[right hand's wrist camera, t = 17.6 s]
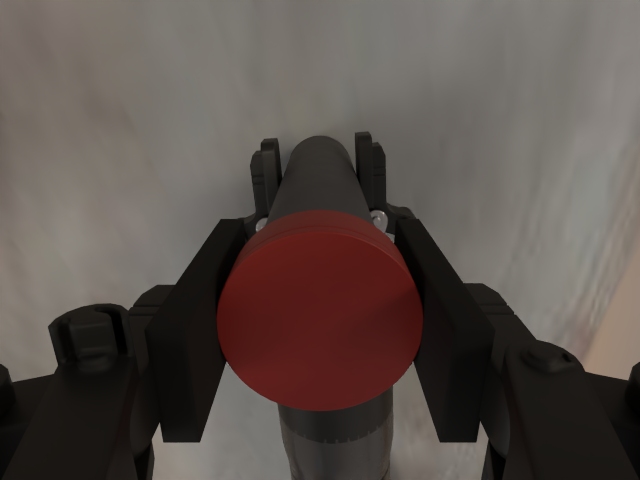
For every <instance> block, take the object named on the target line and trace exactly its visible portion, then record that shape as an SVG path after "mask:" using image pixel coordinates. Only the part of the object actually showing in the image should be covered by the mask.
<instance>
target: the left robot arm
mask: <svg viewBox="0 0 640 480" xmlns="http://www.w3.org/2000/svg"><path fill="white" fill-rule="evenodd" d="M355 152H356V176H357V179H358V181H359V184H360V187H361V190H362V192H363V195H364V198H365V200H366V203H367V206H368V208H369V211H370V214H371V217H372V219H373V222H374V225H375V227H377V228H378V229H380V230H381V231H382V232H383V233H384V234H385V232H386V233H390V234H394V235H395V224H396V219H416V217H415V216H414V214H413V213H412V212H411V210H410V209H409V208H407V207H396V206H392V205H390V204H388V203H387V202H386V159H385V154H384V151H383V149H382V147H381V145H380V144H379V143H378V142H374V143H372V137H371V134H370V133H369V132H356V133H355ZM250 169H251V176H252V183H253V191H254V199H255V206H256V213H254V214H253V215H251V216H248V217H246V218H238V219H244V228H245V243H247V242H248V241H249V240H250V239H251V238H252V236H253V235H255V234H256V233H257V232H258V231H259V230H261V229H262V228H263V227H265V225H266V222H267V219H268V216H269V214H270V211H271V208H272V206H273V203H274V200H275V197H276V195H277V192H278V189H279V187H280V184H281V181H282V171H281V162H280V153H279V144H278V139H277V138H271V139H264V140H263V141H262V142H261V151H256V152H255V153H254V154H253V156H252V160H251V164H250ZM278 411H279V418H280V425H281V432H282V438H283V443H284V447H285V450H286V454H287V456H288V459H289V464H290V471H291V479H292V480H390V451H391V446H392V439H393V385H392V386H391V387H390V388H389V389H387V390H386V391H384V392H383V393H381V394H380V395H378V396H376V397H374V398H372V399H370V400H368V401H366V402H364V403H361V404H358V405H356V406H352V407H348V408H344V409H337V410H329V411H312V410H302V409H296V408H292V407H288V406H285V405H281V404H279V403H278Z"/></svg>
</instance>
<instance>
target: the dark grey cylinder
mask: <svg viewBox="0 0 640 480" xmlns="http://www.w3.org/2000/svg"><path fill="white" fill-rule="evenodd" d="M308 210H332V211H338V212H343V213H347V214H350V215H353V216H356V217H359V218H361V219H363V220H365V221H367V222H369V223H371V224H372V225H374V222H373V219H372V217H371V214H370V211H369V208H368V206H367V203H366V200H365V198H364V195H363V192H362V190H361V187H360V184H359V181H358V179H357V176H356V173H355V171H354V168H353V165H352V163H351V160H350V157H349V155H348V152H347V151H346V149H345V148H344V147H343V146H342V145H341V144H340V143H339V142H338V141H336V140H334V139H332V138H330V137H326V136H314V137H310V138H307V139H305V140H304V141H302V142H301V143H300V144H298V145H297V147H296V148H295V149H294V151H293V152H292V154H291V157H290V159H289V162H288V165H287V168H286V170H285V173H284V176H283V178H282V181H281V184H280V187H279V189H278V192H277V195H276V197H275V200H274V203H273V206H272V208H271V211H270V214H269V216H268V219H267V222H266V225H268V224H269V223H271V222H273V221H275V220H277V219H279V218H281V217H284V216H287V215H290V214H293V213H296V212H302V211H308ZM266 225H265V226H266ZM374 226H375V225H374Z"/></svg>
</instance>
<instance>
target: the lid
mask: <svg viewBox="0 0 640 480" xmlns="http://www.w3.org/2000/svg"><path fill="white" fill-rule="evenodd" d="M423 317H424V313H423V305H422V301H421V298H420V294H419V292H418V290H417V287H416V285H415V283H414V281H413V278H412V276H411V274H410V272H409V270H408V268H407V265H406V263H405V261H404V259H403V257H402V255H401V253H400V252H399V250H398V249H397V247H396V246H395V244H394V243H393V242H392V241H391V240H390V239H389V237H387V236H386V235H385V234H384V233H383V232H382V231H381V230H380V229H378V228H377V227H375V226H374V225H372V224H371V223H369V222H367V221H365V220H363V219H361V218H359V217H356V216H353V215H350V214H347V213H343V212H338V211H332V210H308V211H302V212H296V213H293V214H290V215H287V216H284V217H281V218H279V219H277V220H275V221H273V222H271V223H269V224H268V225H266V226H265V227H263V228H262V229H261V230H259V231H258V232H257V233H256V234H255V235H253V236H252V238H251V239H250V240H249V241H248V242H247V243H246V244H245V246H244V247H243V249H242V250H241V252H240V253H239V255H238V257H237V259H236V261H235V263H234V265H233V267H232V270H231V272H230V274H229V276H228V278H227V280H226V283H225V285H224V287H223V289H222V291H221V294H220V298H219V301H218V305H217V312H216V320H217V331H218V340H219V344H220V347H221V350H222V352H223V354H224V356H225V358H226V360H227V362H228V364H229V365H230V367H231V368H232V370H233V371H234V372H235V373H236V374H237V376H238V377H239V378H240V379H241V380H242V381H243V382H244V383H245V384H247V385H248V386H249V387H250V388H251V389H253V390H254V391H256V392H257V393H259V394H260V395H262V396H264V397H266V398H267V399H269V400H271V401H274V402H276V403H279V404H281V405H285V406H288V407H292V408H296V409H302V410H312V411H329V410H337V409H344V408H348V407H352V406H356V405H358V404H361V403H364V402H366V401H368V400H370V399H372V398H374V397H376V396H378V395H380V394H381V393H383V392H384V391H386V390H387V389H389V388H390V387H391V386H392V385H393V384H395V383H396V382H397V381H398V380H399V379H400V378H401V377H402V376H403V374H404V373H405V372H406V371H407V369H408V368H409V366H410V365H411V364H412V362H413V360H414V358H415V356H416V354H417V352H418V349H419V346H420V344H421V337H422V328H423Z"/></svg>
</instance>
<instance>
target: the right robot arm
mask: <svg viewBox="0 0 640 480" xmlns="http://www.w3.org/2000/svg"><path fill="white" fill-rule="evenodd" d="M245 244H246V243H245V228H244V219H221V220H220V221H219V223H218V224H217V225H216V227H215V228H214V230H213V231H212V233H211V234H210V235H209V237H208V238H207V240H206V241H205V243H204V244H203V246H202V247H201V248H200V250H199V251H198V253H197V254H196V256H195V257H194V259H193V260H192V261H191V263H190V264H189V266H188V267H187V269H186V270H185V272H184V273H183V274H182V276H181V277H180V279H179V280H178V282H177V283H176V284H175V285H156V286H155V287H153V288H151V289H150V290H148V291H146V292H145V293H143V294H142V295H141V296H140V297H139V298H138V300H137V301H136V302H135V303H134V305H133V307H131V308H130V309H129V311H128V310H127V309H125V308H124V307H123V306H121V305H116V304H111V303H109V304H94V305H89V306H83V307H80V308H77V309H74V310H72V311H69V312H67V313H65V314H63V315H61V316H60V317H58V318H56V319H55V320H54V321H53V322H52V323H51V324H50V325H49V326H48V329H49V333H50V336H51V340H52V344H53V348H54V351H55V355H56V359H57V363H58V367H57V369H56V371H55V373H54V374H51V375H47V376H43V377H37V378H32V379H27V380H22V381H17V382H12V381H11V378H10V375H9V372H8V369H7V368H6V367H4V366H3V365H2V364H0V480H152V476H153V467H154V459H155V458H154V451H153V445H152V438H153V436H154V433H155V431H156V429H157V427H158V425H159V423H160V426H161V432H162V437H163V442H200V440H201V437H202V434H203V431H204V428H205V425H206V422H207V419H208V416H209V413H210V410H211V407H212V404H213V401H214V398H215V395H216V392H217V388H218V385H219V382H220V379H221V376H222V373H223V370H224V367H225V364H226V361H227V360H226V358H225V356H224V354H223V352H222V350H221V347H220V344H219V340H218V331H217V320H216V312H217V305H218V301H219V298H220V294H221V291H222V289H223V287H224V285H225V283H226V280H227V278H228V276H229V274H230V272H231V270H232V267H233V265H234V263H235V261H236V259H237V257H238V255H239V253H240V252H241V250H242V249H243V247H244V246H245ZM394 244H395V246H396V247H397V249H398V250H399V252H400V253H401V255H402V257H403V259H404V261H405V263H406V265H407V268H408V270H409V272H410V274H411V276H412V278H413V281H414V283H415V285H416V287H417V290H418V292H419V294H420V298H421V301H422V305H423V313H424V317H423V328H422V337H421V344H420V346H419V349H418V352H417V354H416V356H415V358H414V360H413V362H414V365H415V368H416V371H417V374H418V377H419V380H420V383H421V386H422V389H423V392H424V395H425V398H426V402H427V405H428V408H429V411H430V414H431V417H432V420H433V423H434V426H435V429H436V432H437V435H438V438H439V441H440V442H477V436H478V430H479V424H480V421H481V423H482V425H483V427H484V430H485V432H486V434H487V436H488V438H489V440H488V445H487V450H486V456H485V461H484V467H483V472H482V478H481V480H640V362H639V363H637V364H636V365H635V366H633V367H632V371H631V374H630V377H629V380H622V379H618V378H612V377H607V376H602V375H597V374H592V373H588V372H585V370H584V368H583V366H582V364H581V363H580V362H579V361H578V359H577V358H576V357H575V356H574V355H572V354H571V353H569V352H568V351H566V350H565V349H563V348H561V347H559V346H556V345H554V344H551V343H548V342H544V341H539V340H536V338H535V337H534V336H533V335H532V333H531V332H530V331H529V330H528V329H527V327H526V326H525V325H524V324H523V323H522V321H521V320H520V319H519V318H518V316H517V315H514V312H513V310H512V309H511V308H510V307H509V306H507V303H506V302H505V301H504V299H503V298H502V297H501V296H500V295H499V293H498V292H496V291H494V290H493V289H491V288H489V287H488V286H486V285H484V284H483V283H463V282H462V281H461V279H460V278H459V276H458V275H457V273H456V272H455V270H454V269H453V268H452V266H451V265H450V263H449V262H448V260H447V259H446V258H445V256H444V255H443V253H442V252H441V250H440V249H439V247H438V246H437V245H436V243H435V242H434V240H433V239H432V237H431V236H430V234H429V233H428V232H427V230H426V229H425V227H424V226H423V224H422V223H421V221H420V220H419V219H396V224H395V239H394Z"/></svg>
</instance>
